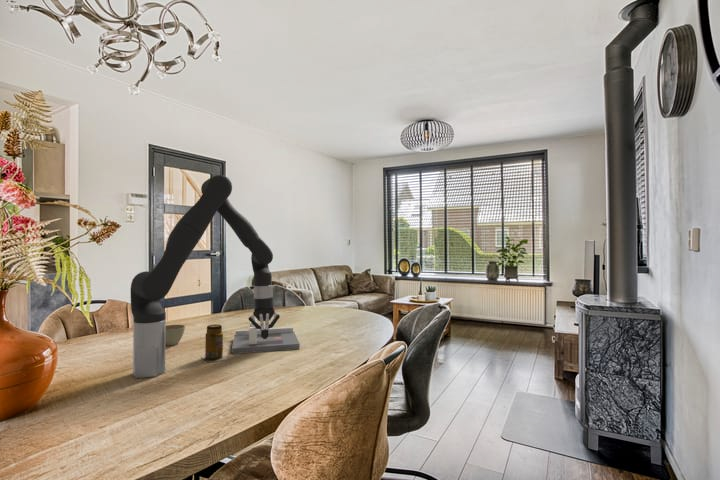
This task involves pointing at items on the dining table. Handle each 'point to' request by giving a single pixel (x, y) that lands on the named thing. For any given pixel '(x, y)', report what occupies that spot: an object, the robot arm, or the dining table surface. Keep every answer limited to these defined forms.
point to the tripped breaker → (252, 335)
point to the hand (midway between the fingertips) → (265, 338)
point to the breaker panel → (266, 341)
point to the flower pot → (174, 334)
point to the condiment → (214, 344)
